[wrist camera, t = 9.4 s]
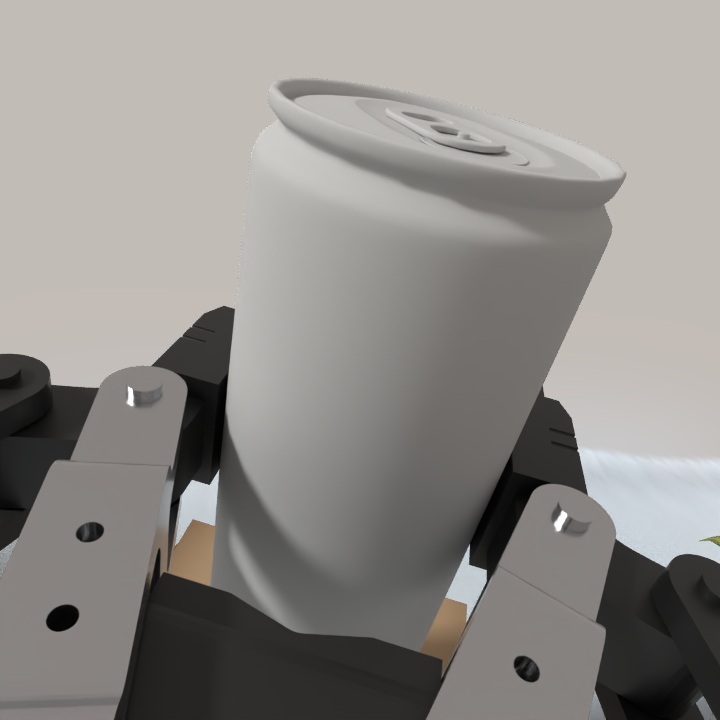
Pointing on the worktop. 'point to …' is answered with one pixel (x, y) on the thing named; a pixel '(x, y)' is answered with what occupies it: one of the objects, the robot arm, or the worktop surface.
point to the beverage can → (389, 344)
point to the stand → (196, 565)
